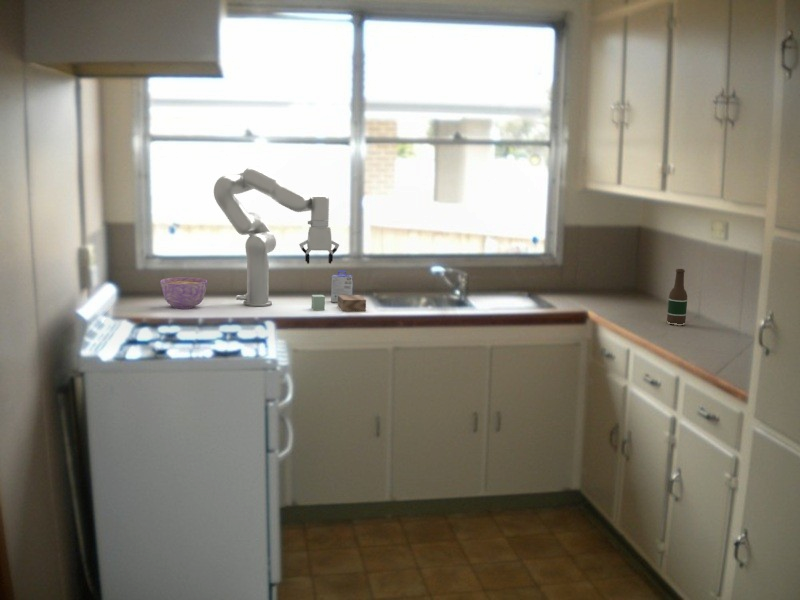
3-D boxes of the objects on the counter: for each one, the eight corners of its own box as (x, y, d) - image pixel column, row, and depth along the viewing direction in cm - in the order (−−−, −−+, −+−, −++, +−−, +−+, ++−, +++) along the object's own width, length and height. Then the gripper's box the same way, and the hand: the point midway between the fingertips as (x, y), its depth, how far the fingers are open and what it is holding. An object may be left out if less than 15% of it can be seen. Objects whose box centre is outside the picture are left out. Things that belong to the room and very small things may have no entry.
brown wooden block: (343, 311, 393) (343, 300, 392) (337, 306, 405) (338, 295, 404) (365, 311, 395) (366, 299, 394) (359, 306, 407) (359, 295, 407)
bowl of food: (217, 307, 391) (217, 281, 389) (177, 313, 376) (177, 285, 374) (190, 301, 404) (189, 276, 402) (151, 306, 389) (150, 279, 388)
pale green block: (313, 310, 393) (313, 296, 392) (311, 308, 398) (311, 294, 397) (324, 310, 395) (324, 296, 394) (322, 308, 399) (323, 294, 398)
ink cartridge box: (352, 300, 421) (352, 270, 418) (352, 302, 415) (353, 271, 413) (330, 300, 420) (331, 269, 417) (330, 302, 414) (331, 271, 412)
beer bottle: (688, 325, 386) (693, 270, 382) (673, 326, 384) (677, 270, 380) (678, 322, 394) (683, 267, 390) (662, 322, 391) (667, 268, 387)
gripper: (301, 224, 384) (300, 264, 387) (341, 225, 389) (340, 264, 392) (298, 222, 392) (297, 262, 394) (337, 223, 396) (336, 262, 399)
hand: (318, 263), depth 393 cm, fingers open, 9 cm apart
